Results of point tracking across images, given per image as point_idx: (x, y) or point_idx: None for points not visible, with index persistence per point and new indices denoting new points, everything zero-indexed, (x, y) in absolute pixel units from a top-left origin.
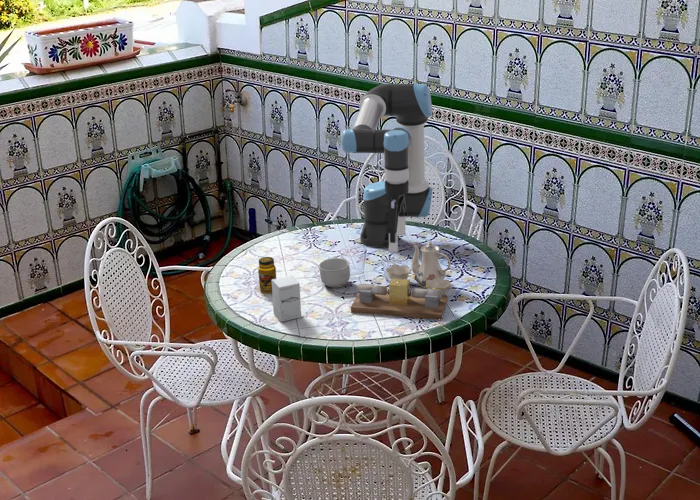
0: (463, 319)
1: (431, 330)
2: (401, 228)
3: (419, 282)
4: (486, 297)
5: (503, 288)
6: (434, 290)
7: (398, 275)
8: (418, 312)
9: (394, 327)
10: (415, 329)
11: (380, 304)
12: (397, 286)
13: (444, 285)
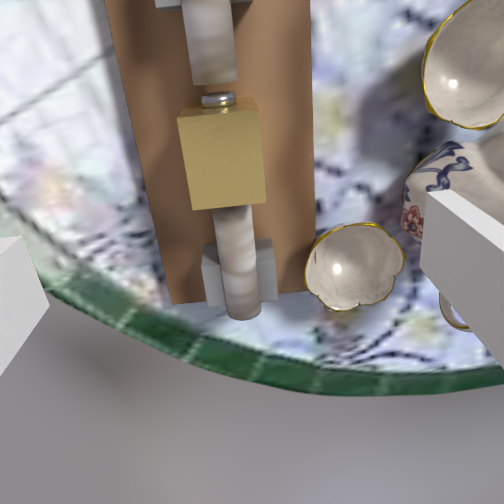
0: (202, 344)
1: (95, 283)
2: (458, 273)
3: (419, 167)
4: (359, 367)
5: (425, 392)
6: (240, 297)
7: (423, 80)
8: (157, 234)
9: (56, 165)
10: (78, 237)
11: (168, 64)
12: (185, 162)
13: (377, 273)
